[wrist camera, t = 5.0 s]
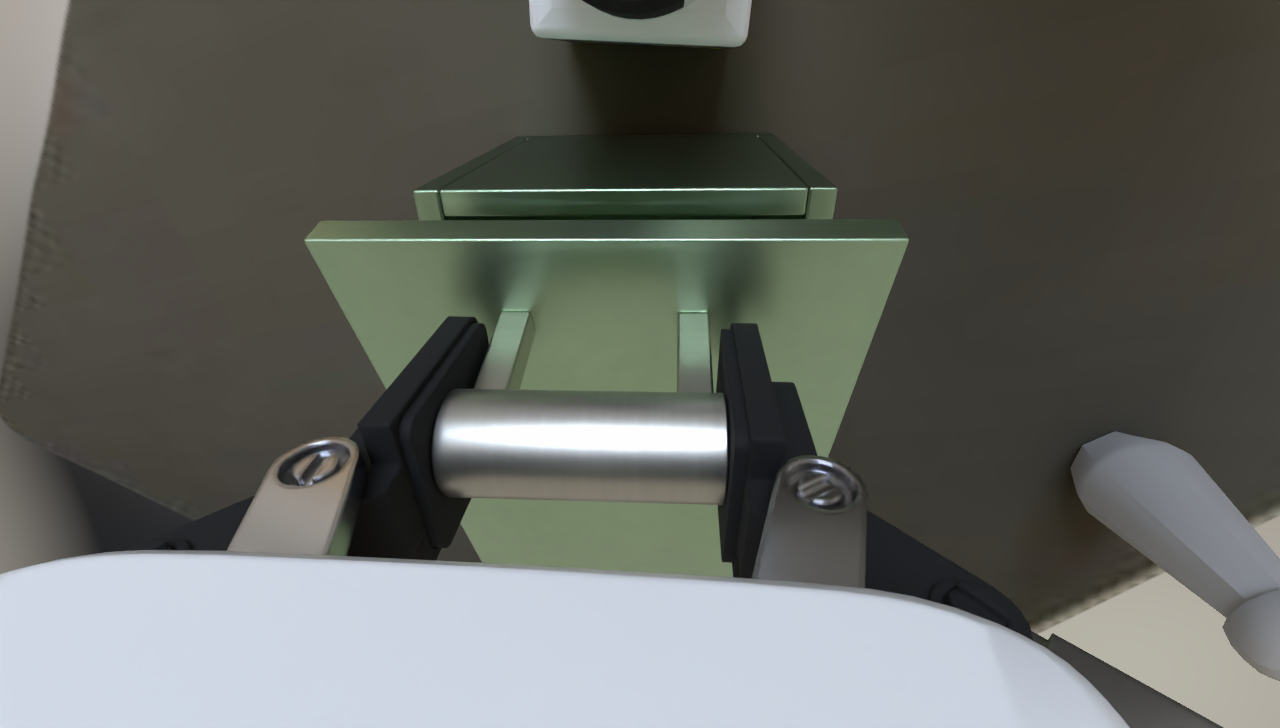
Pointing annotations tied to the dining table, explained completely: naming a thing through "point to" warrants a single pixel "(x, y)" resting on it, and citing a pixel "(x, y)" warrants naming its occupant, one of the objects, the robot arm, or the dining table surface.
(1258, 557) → the salt shaker
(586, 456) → the bin lid
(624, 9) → the medicine bottle
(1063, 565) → the dining table surface
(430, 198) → the bin
